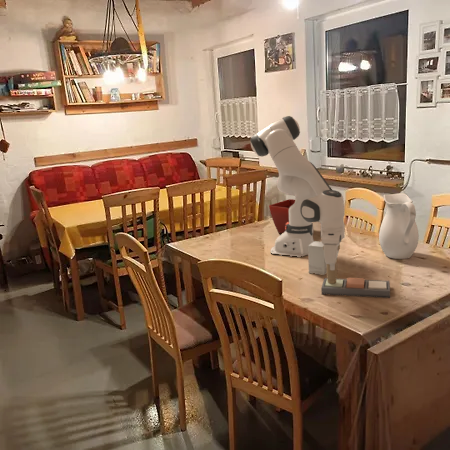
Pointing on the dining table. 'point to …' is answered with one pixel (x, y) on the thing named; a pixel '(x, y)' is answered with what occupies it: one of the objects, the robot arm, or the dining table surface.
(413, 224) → the pitcher
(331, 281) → the handle
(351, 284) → the key terracotta
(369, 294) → the keypad
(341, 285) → the key sage
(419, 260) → the dining table surface
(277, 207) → the plant pot
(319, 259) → the supplement box
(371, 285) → the key offwhite
